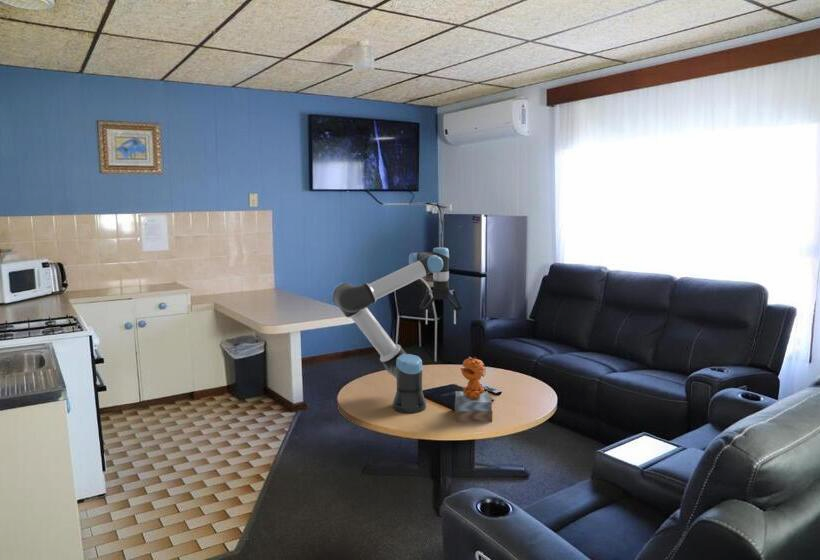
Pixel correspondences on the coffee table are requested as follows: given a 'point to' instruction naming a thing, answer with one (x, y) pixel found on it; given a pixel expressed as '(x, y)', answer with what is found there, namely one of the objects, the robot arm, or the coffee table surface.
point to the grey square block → (473, 408)
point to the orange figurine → (473, 377)
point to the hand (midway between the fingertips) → (440, 323)
